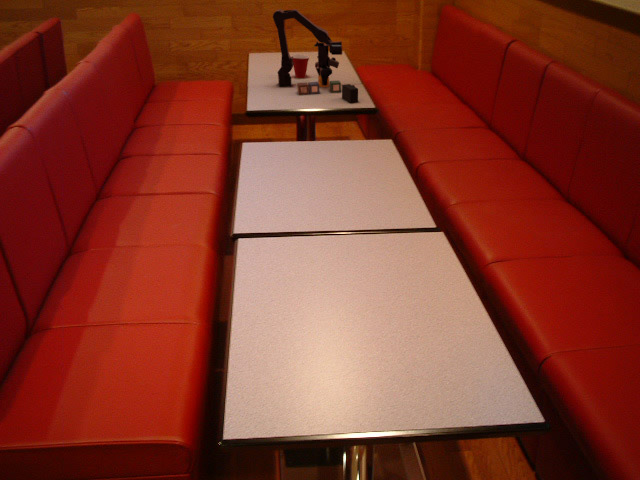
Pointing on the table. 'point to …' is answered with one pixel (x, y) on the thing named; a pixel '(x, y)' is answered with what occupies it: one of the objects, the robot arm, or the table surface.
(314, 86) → the slate block
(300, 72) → the plastic cup
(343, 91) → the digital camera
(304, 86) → the walnut block
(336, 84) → the green block
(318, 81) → the mustard block
